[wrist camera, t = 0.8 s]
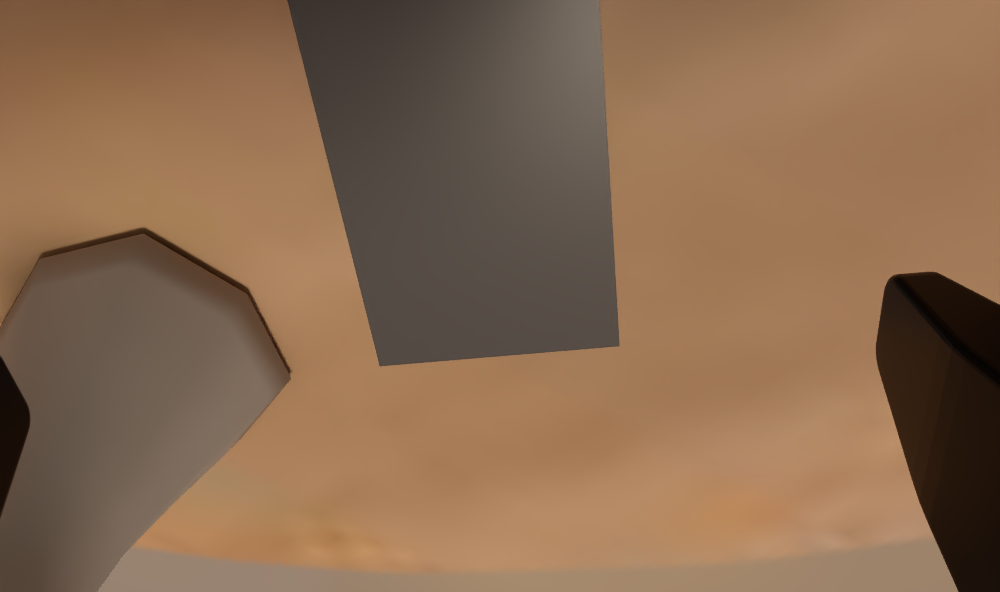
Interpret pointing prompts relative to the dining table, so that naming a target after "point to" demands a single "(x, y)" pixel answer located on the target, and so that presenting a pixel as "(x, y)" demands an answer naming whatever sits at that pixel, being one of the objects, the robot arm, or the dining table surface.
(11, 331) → the grey flared piece
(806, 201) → the dining table surface
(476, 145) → the block
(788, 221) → the dining table surface
